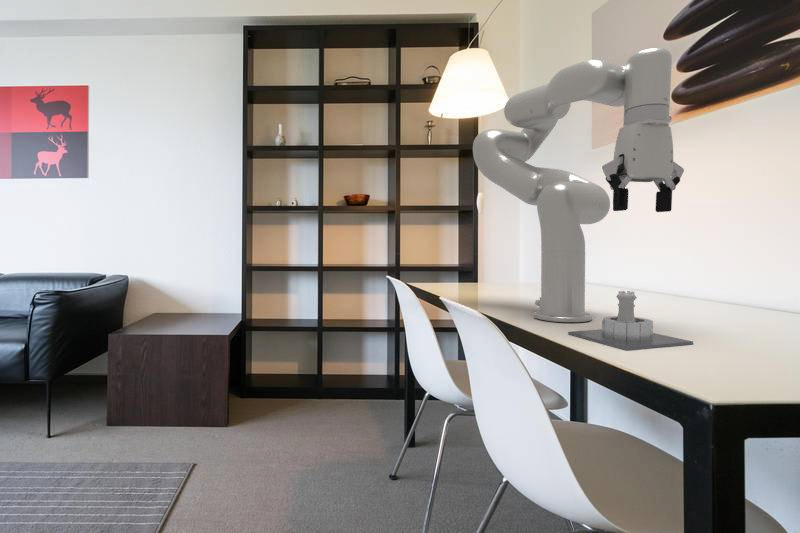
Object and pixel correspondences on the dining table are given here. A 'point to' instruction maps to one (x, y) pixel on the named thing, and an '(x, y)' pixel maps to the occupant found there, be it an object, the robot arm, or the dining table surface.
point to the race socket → (629, 335)
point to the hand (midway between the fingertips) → (641, 211)
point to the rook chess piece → (626, 306)
